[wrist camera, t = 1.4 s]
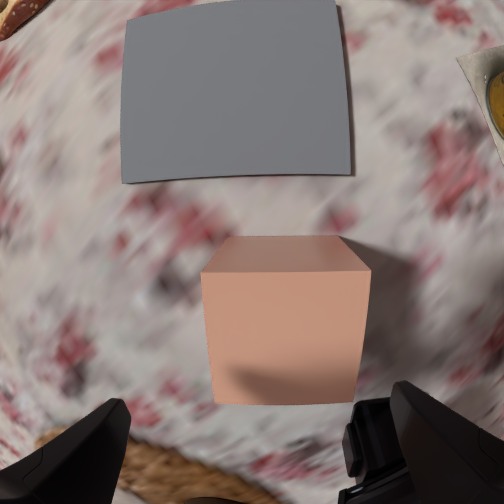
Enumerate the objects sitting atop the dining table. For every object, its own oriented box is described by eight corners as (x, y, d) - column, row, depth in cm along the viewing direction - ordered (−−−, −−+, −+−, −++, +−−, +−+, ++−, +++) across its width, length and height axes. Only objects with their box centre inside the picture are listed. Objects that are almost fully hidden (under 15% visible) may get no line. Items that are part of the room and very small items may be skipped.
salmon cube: (337, 235, 18) (371, 270, 11) (331, 332, 20) (352, 401, 13) (228, 236, 19) (200, 272, 12) (234, 333, 20) (214, 402, 13)
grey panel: (333, 4, 14) (335, 0, 14) (348, 174, 17) (350, 174, 17) (130, 23, 16) (127, 20, 15) (125, 183, 18) (122, 183, 18)
